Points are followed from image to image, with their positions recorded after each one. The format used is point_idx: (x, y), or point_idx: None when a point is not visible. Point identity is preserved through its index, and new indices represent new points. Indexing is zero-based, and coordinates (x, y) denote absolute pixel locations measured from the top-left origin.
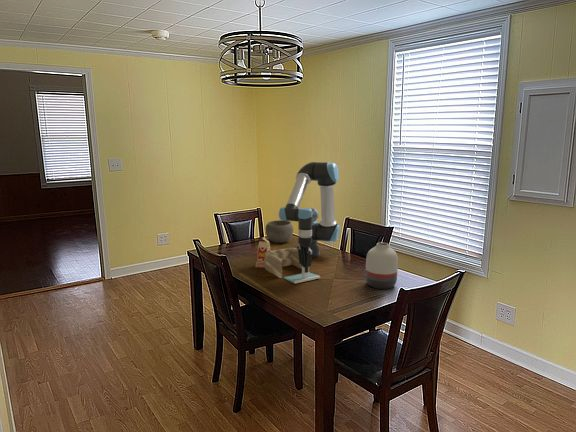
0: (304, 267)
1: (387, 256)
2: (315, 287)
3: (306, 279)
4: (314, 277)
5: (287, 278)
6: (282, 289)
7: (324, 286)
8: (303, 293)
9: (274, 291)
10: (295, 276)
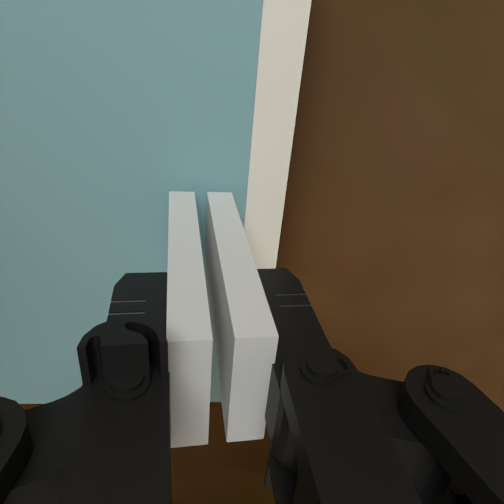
0: (261, 409)
1: None
2: (424, 181)
3: (276, 244)
4: (299, 72)
5: (55, 397)
6: (234, 452)
7: (499, 48)
8: (429, 358)
9: (232, 500)
10: (11, 280)
